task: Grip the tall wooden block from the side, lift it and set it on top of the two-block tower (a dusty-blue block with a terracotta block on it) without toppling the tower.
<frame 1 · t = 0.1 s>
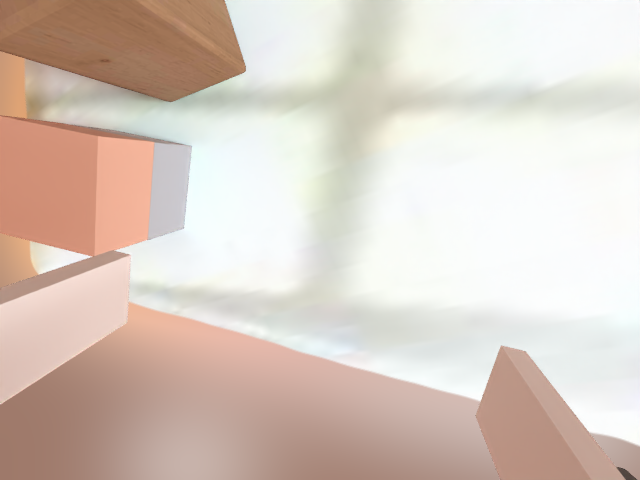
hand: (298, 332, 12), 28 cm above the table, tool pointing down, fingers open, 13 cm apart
wooden block: (193, 43, 38), on the table
tower top: (106, 182, 35), point 7 cm above the table, touching tower base
tower base: (150, 180, 42), on the table, touching tower top
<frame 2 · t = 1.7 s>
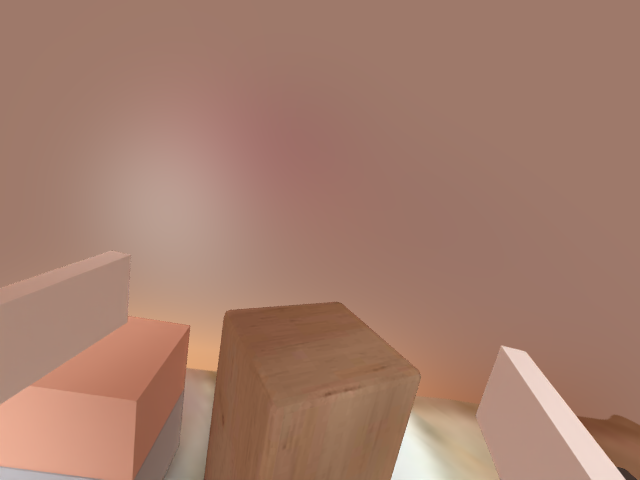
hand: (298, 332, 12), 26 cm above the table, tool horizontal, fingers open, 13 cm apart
tower top: (102, 419, 29), point 7 cm above the table, touching tower base
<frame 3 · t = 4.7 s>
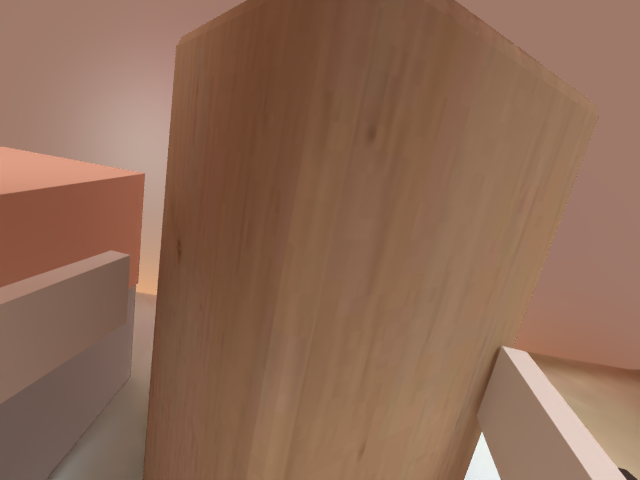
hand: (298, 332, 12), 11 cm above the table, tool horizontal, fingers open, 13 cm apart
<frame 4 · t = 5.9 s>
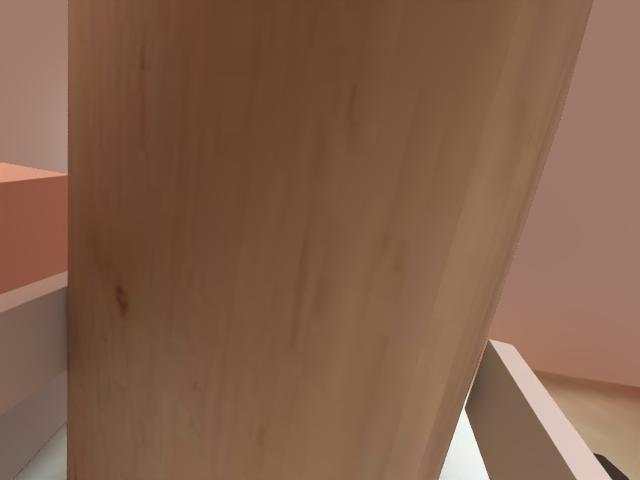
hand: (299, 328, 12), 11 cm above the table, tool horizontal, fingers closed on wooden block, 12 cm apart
when the fingers open (26 cm above the table, at t = 11.8 s): wooden block drops 1 cm, resting on tower top.
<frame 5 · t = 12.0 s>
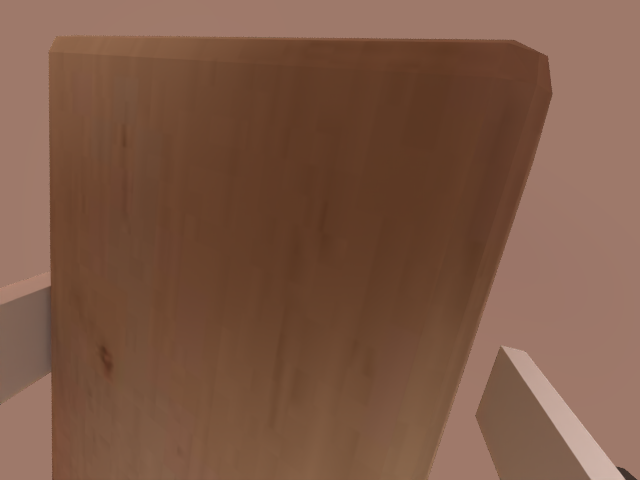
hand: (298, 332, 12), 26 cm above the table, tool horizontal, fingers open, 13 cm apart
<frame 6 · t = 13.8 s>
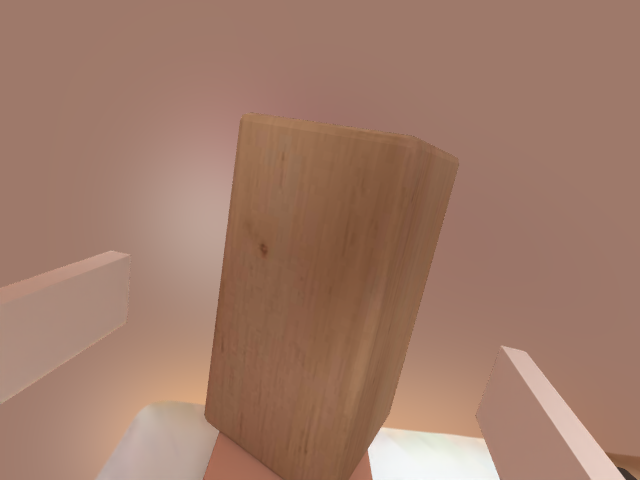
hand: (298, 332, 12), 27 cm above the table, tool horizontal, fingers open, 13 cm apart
wooden block: (302, 420, 25), point 14 cm above the table, touching tower top
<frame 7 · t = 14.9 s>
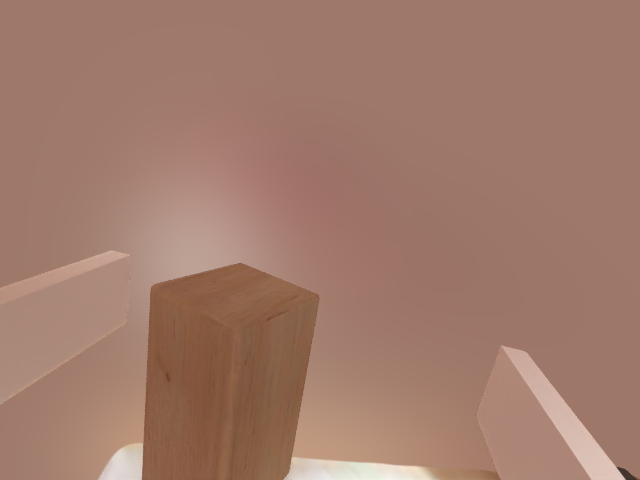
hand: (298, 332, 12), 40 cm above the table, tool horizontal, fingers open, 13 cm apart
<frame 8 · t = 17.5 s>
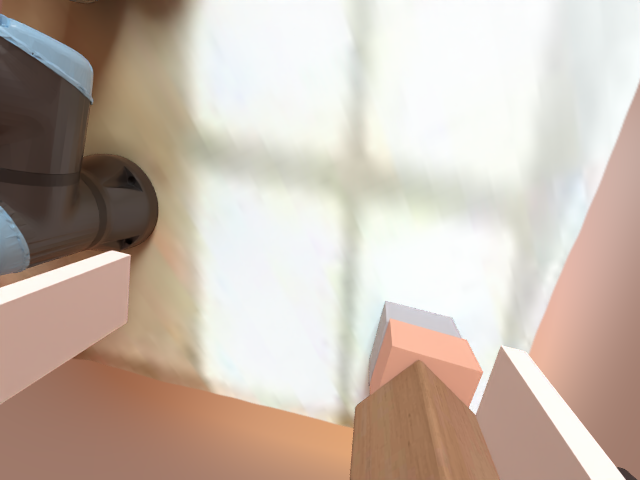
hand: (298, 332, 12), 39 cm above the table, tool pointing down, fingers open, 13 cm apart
wooden block: (415, 410, 40), point 14 cm above the table, touching tower top
tower top: (416, 361, 46), point 7 cm above the table, touching tower base, wooden block
tower base: (409, 338, 53), on the table, touching tower top
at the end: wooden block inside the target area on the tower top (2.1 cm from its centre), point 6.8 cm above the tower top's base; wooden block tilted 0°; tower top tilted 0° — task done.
